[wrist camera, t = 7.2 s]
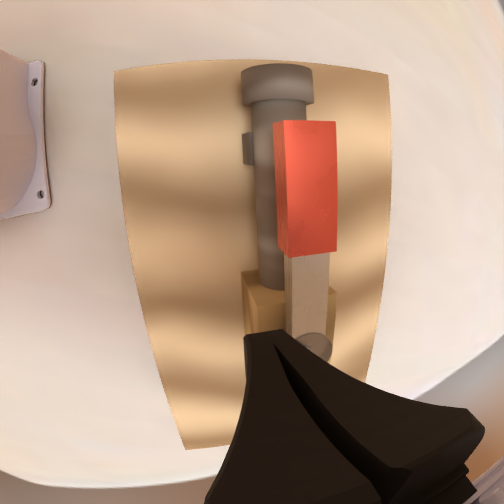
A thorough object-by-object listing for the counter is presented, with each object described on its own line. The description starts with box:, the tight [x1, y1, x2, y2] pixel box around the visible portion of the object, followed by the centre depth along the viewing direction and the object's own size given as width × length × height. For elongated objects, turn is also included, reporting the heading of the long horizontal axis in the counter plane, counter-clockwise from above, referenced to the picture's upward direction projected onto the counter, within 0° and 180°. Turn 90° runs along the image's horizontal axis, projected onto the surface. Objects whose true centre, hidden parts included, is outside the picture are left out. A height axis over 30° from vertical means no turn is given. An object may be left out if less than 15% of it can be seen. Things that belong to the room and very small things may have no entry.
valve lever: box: [272, 120, 338, 362], centre depth 12 cm, size 11×2×1 cm, turn 3°
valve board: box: [114, 60, 392, 450], centre depth 17 cm, size 28×16×6 cm, turn 3°
